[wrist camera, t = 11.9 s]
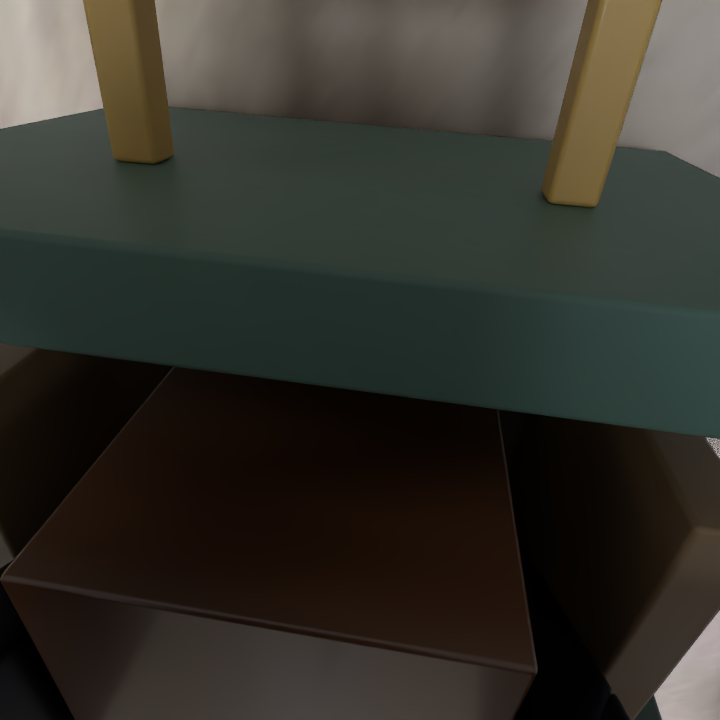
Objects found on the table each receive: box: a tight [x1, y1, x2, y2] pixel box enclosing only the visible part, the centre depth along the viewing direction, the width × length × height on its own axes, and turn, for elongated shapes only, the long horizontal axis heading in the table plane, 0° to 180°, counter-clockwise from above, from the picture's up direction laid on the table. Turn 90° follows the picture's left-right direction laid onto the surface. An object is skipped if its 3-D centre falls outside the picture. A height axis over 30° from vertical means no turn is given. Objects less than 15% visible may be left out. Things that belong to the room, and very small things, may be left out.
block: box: [0, 366, 538, 720], centre depth 8 cm, size 5×5×5 cm
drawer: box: [0, 0, 720, 720], centre depth 10 cm, size 18×11×8 cm, turn 176°
